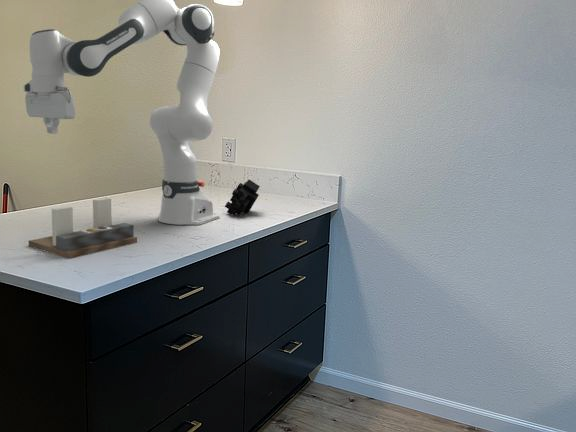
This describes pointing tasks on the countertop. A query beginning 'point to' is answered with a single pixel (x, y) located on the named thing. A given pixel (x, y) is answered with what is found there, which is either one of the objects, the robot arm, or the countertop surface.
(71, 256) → the console
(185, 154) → the robot arm
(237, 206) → the toy
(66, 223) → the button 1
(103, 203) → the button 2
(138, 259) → the countertop surface
